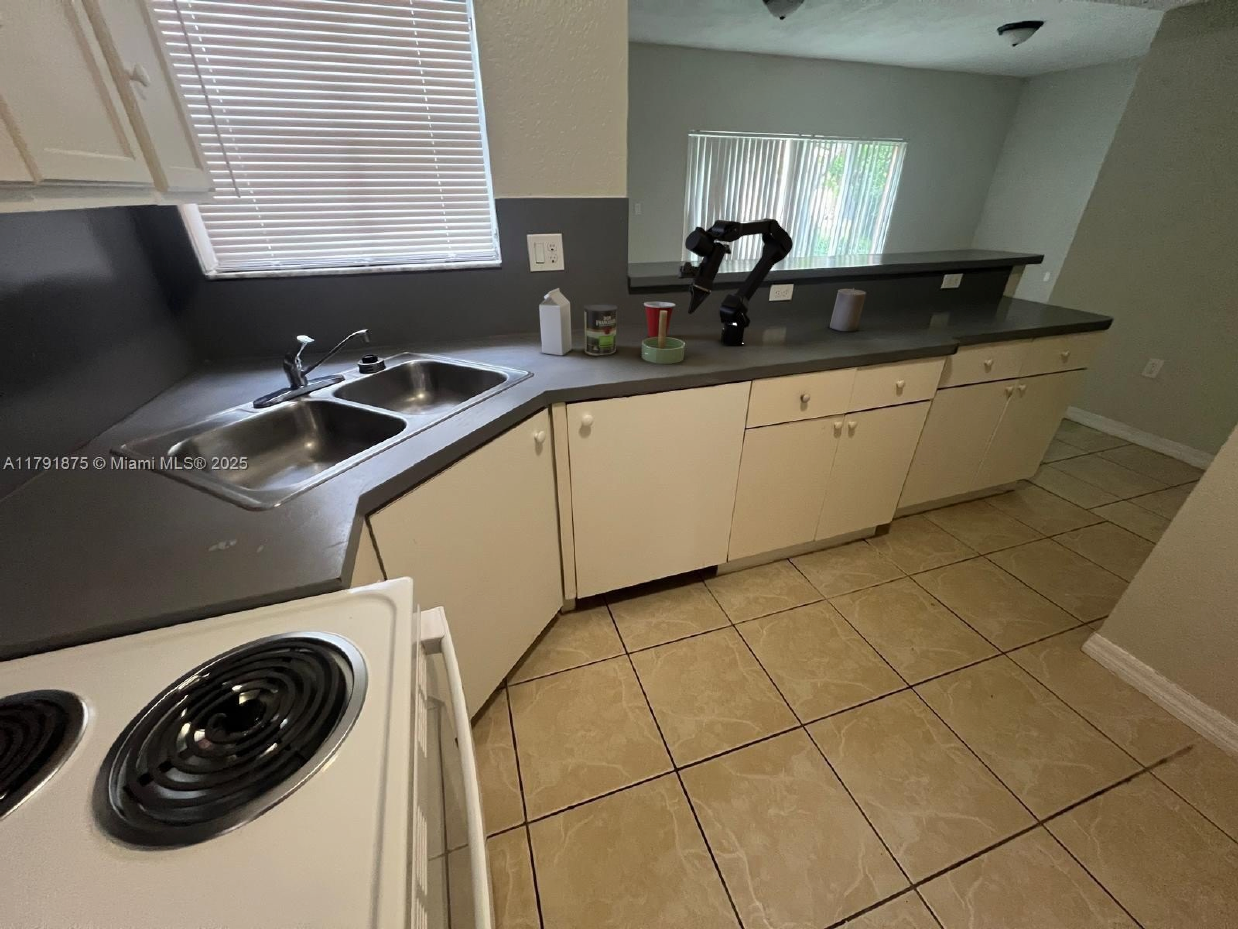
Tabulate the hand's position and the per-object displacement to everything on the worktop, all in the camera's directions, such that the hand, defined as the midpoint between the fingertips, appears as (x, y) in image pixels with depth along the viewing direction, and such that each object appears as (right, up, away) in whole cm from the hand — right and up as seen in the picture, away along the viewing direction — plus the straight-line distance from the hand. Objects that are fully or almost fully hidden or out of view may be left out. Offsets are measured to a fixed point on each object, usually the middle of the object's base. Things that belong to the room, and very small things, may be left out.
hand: (690, 313), depth 152 cm
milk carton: (-42, -11, +4) cm, 44 cm away
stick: (-9, -14, -1) cm, 17 cm away
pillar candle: (+64, +5, +35) cm, 73 cm away
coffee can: (-28, -11, +5) cm, 31 cm away
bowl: (-9, -14, 0) cm, 17 cm away
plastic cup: (-9, -3, +20) cm, 22 cm away
